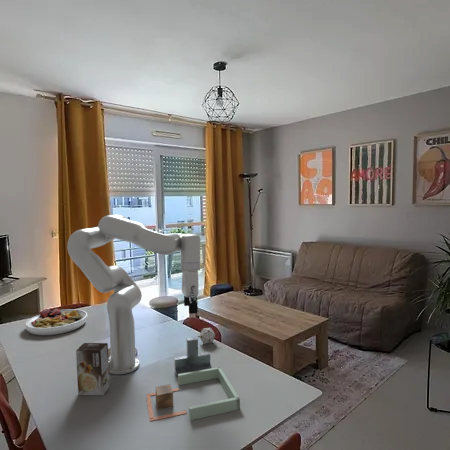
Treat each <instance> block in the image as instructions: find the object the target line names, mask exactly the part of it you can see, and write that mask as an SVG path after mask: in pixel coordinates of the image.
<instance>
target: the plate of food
mask: <svg viewBox="0 0 450 450" xmlns="http://www.w3.org/2000/svg"><path fill="white" fill-rule="evenodd" d="M87 319H88V313H87V311H85V310H82V309H71V308H70V309H69V308H68V309H67V308H66V309H59V308H54V309H52V310H51V309H49V308H45V309H43V310H41V311H40V313H39V314H37V315H35V316H32V317H31V318H28V319H27V321H25V329H26V331H28V333H30V334H32V335H35V336H55V335H60V334H65V333H68V332H72V331H74V330H77V329H79V328H80V327H82V326H83V325H84V324H85V323H86V321H87Z"/></svg>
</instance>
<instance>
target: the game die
mask: <svg viewBox="0 0 450 450" xmlns="http://www.w3.org/2000/svg"><path fill="white" fill-rule="evenodd" d="M212 327H213V326H212V325H211V326H210V327H201V328H200V329H201V331H200V334H199V335H198V336H197V338H199V339H200V341H201V343H202V346H205V345H206V344H207V345H208V344H213V345H214V340H215V338H216V336H218V334H217V333H215V331H214V330H213V328H212Z"/></svg>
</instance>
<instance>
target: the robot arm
mask: <svg viewBox="0 0 450 450" xmlns="http://www.w3.org/2000/svg"><path fill="white" fill-rule="evenodd" d="M115 239H116V240H120V241H123V242H126V243H130V244H133V245H136V246H137V247H139V248H141V249H144V250H146V251H149V252H153V253H156V254H159V255H162V256H163V255H164V256H166V255H167V256H168V255H172V254H174V253H177V252H180V271H182V273H181V274H182V275H181V292H182V295H183V306H184V307H188V313H189V314H190V315H193V314H198V309H199V307H198V305H199V304H198V301H199V300H198V296H199V271H201V237H200V235H198V234H197V233H187V234H186V233H176V232H171V233H170V232H169V233H166V234H163V233H161V232H157V231H154V230H151V229H148V228H146V227H145V226H144V225H143V224H142V223H141V222H138V221H134V220H130V219H128V218H127V217H125V216H124V215H121V214H108V215H105V216H103V217H102V218H100V220H99V222H98V225H97V226H95V227H88V228H81V229H77V230H75V231H74V232H73V233H72V234H71V235H70V236H69V237H68V241H67V246H66V248H67V249H66V250H67V252H68V256H69V257H70V259H71V260H72V261H73V263H74V264H75V265H76V266H77V267H78V268H79V269H80V270H81V272H83V274H84V276H85V277H86V278H87V279H88V281H89V282H90V283H91V285H92V286H93V287H94V288H95V289H96V290H97V291H98V292H99V293H102V294H106V293H110V292H112V291H114V292H113V293H112V294H111V295H110V296H109V297H108V299H107V300H106V301H107V302H106V309H107V310H106V311H107V314H108V315H107V316H108V321H109V343H110V344H109V345H110V354H109V356H108V363H109V374H112V375H125V374H126V375H127V374H128V373H132V372H135V371H136V370H137V369H138V368H139V366H140V360H139V359H138V358H137V357H136V333H135V329H136V328H135V318H134V315H133V309H134V308H135V307H136V306H138V304H140V302H141V300H142V296H143V294H142V291H141V289H140V288H139V286H138V285H137V283H136V282H135V281H134V279H133V278H132V277H131V276H130V275H129V274H128V272H127V271H126V270H125V269H124V268H123V267H121V266H120V265H109V266H108V265H107V264H106V263H105V262H104V261H103V259H102V258H101V257H100V256H99V255H98V254H96V253H95V252H94V251H93V249H96V248H99V247H102V246H104V245H106V244H108V243H110V242H112V241H113V240H115Z"/></svg>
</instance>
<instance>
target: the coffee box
mask: <svg viewBox="0 0 450 450" xmlns="http://www.w3.org/2000/svg"><path fill="white" fill-rule="evenodd" d="M75 355H76V356H75V357H76V358H75V360H76V375H77V376H76V378H77V380H76V381H77V395H78V396H104V395H105V394H106V392H107V391H108V389H109V388H110V373H109V363H108V358H109V345H108V342H84V343H82V344H81V345H80V346H79V347H78V348H77V349H76V351H75Z"/></svg>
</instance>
